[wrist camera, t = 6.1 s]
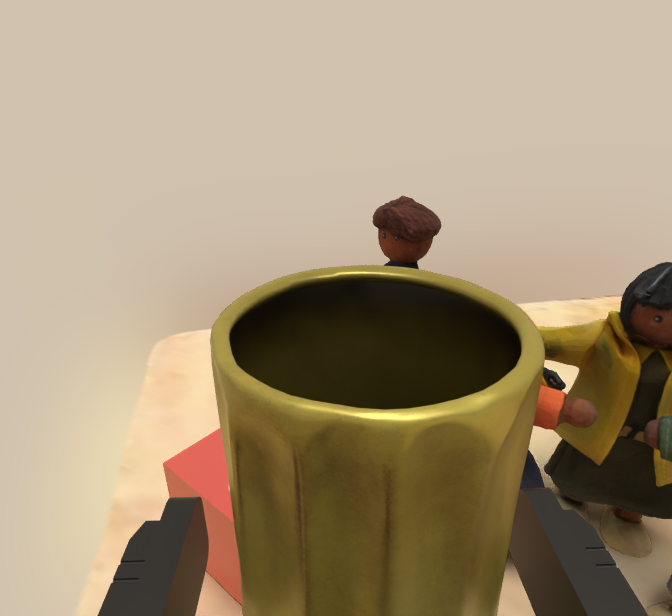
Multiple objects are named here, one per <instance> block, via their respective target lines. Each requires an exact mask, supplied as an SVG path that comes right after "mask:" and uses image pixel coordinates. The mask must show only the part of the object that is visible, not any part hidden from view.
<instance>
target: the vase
mask: <svg viewBox="0 0 672 616" xmlns="http://www.w3.org/2000/svg"><path fill="white" fill-rule="evenodd" d="M210 344H211V358H212V369H213V376H214V384H215V392H216V399H217V406H218V413H219V420H220V427H221V434H222V440H223V446H224V453H225V459H226V466H227V472H228V480H229V488H230V496H231V505H232V512H233V519H234V527H235V535H236V542H237V550H238V557H239V564H240V575H241V593H242V609H243V616H497V612H498V605H499V599H500V592H501V587H502V582H503V576H504V571H505V566H506V560H507V555H508V550H509V544H510V538H511V532H512V526H513V521H514V515H515V509H516V504H517V499H518V494H519V489H520V484H521V479H522V475H523V470H524V466H525V461H526V457H527V452H528V448H529V443H530V438H531V433H532V428H533V423H534V418H535V413H536V408H537V402H538V397H539V392H540V387H541V381H542V375H543V368H544V360H545V349H544V344H543V340H542V337H541V335H540V333H539V330H538V328H537V327H536V325H535V324H534V322H533V321H532V320H531V319H530V317H529V316H528V315H527V314H526V313H525V312H524V311H523V310H522V309H521V308H520V307H518V306H517V305H515V304H514V303H512V302H511V301H509V300H507V299H505V298H503V297H501V296H500V295H498V294H495V293H493V292H491V291H489V290H487V289H484V288H482V287H480V286H478V285H476V284H473V283H471V282H468V281H465V280H462V279H459V278H454V277H450V276H446V275H441V274H437V273H433V272H428V271H424V270H419V269H414V268H406V267H395V266H379V265H358V266H342V267H330V268H321V269H313V270H309V271H303V272H299V273H295V274H291V275H287V276H284V277H281V278H278V279H275V280H273V281H270V282H268V283H266V284H264V285H262V286H259V287H257V288H255V289H253V290H251V291H249V292H247V293H246V294H244V295H243V296H241V297H239V298H238V299H237V300H235V301H234V302H233V303H232V304H230V305H229V306H228V307H227V308H226V309H225V310H224V311H223V312H222V313H221V314H220V316H219V317H218V319H217V320H216V321H215V323H214V325H213V327H212V331H211V339H210Z"/></svg>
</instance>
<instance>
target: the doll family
mask: <svg viewBox="0 0 672 616" xmlns="http://www.w3.org/2000/svg"><path fill="white" fill-rule="evenodd" d="M373 224H374V225H375V226H376V227H377V228H378V229H379V232H378V233H379V234H378V237H379V238H378V239H379V244H380V247H381V249H382V251H383V253H384V255H385V256H387V257H388V258H389V259H390V261H389V262H388V263H386V264H385V265H384V266H395V267H406V268H414V269H419V268H418V264H417V261H418V260H419V259H421V258H422V257H423V256H425V255H426V253H427V252H428V250H429V248H430V247H431V244H432V240H433V237H434V236H435V235H437V234H438V232H439V230H440V228H441V222H440V219H439V218H438V216H437V215H435V213H434V212H432V211H431V210H429V209H428V208H426V207H425V206H423V205H422V204H419V203H417V202H415V201H414V200H413V199H412V198H408V197H405V196H401V197H400V198H399V199H396V200H393V201H390V202H389V203H386V204H385V205H383V206H380V207H379V208H378V209H377V210H376V212H375V213H374V215H373ZM537 328H538V330H539V333H540V335H541V337H542V340H543V344H544V349H545V360H552V361H556V362H560V363H563V364H567V365H573V366H576V367H578V368H579V373H578V376H577V378H576V380H575V382H574V384H573V386H572V388H571V389H570V391H569V392H568V394H566V393H564V392H562V389H565V387H566V385H565V383H564V382H563V381H562V380H561V378H560V377H559V376H558V374H557V372H554V371H552V370H549V369H547V368H545V367H544V368H543V375H542V381H541V387H540V392H539V397H538V402H537V408H536V413H535V418H534V423H533V425H534V426H539V427H542V428H544V429H552V430H554V431H555V432H556V433H557V434H558V435H559V436H560V437H561V438H563V439H562V440H561V441H560V443H559V444H558V446H557V448H556V450H555V452H554V454H553V455H552V456H551V458H550V460H549V462H548V463H547V464H546V465H545V466H544V471H545V472H546V473H547V474H548V475H550V477H551V478H552V480H553V482H554V484H555V485H556V486H555V487H554V488H553V489H552V492H553V493H554V495H555V496H556V498H557V500H558V501H559V503H560V505H561V507H562V508H563V510H575V511H576V512H577V513H578V514H579V515H580V516H581V517H583V518H584V519H585V520H586V521H587V522H588V523H589V524H590V518H589V513H588V508H587V503H586V502H591V503H597V504H606V505H607V506H606V507H604V509H603V512H602V517H601V525H600V533H601V535H602V537H603V539H604V540H605V542H606V543H607V544H609V545H610V546H611V547H612V548H614V549H615V550H617V551H619V552H621V553H623V554H627V555H630V556H634V557H644V556H647V555H648V554H650V553H651V550H652V546H651V541H650V537H649V535H648V533H647V531H646V528H645V526H644V524H643V522H642V520H641V518H642V515H644V516H648V517H656V518H661V519H672V263H671V262H665V263H661V264H658V265H656V266H655V267H652V268H650V269H648V270H646V271H644V272H642V273H641V274H640V275H639V276H638V277H637V278H636V279H635V280H634V281H633V282H631V283H630V284H629V286H628V287H627V288H626V290H625V292H624V294H623V297H622V301H621V309H620V312H617V311H611V312H609V315H608V317H607V319H600V320H595V321H592V322H589V323H586V324H583V325H574V326H565V327H537ZM524 488H545V487H544V483H543V480H542V477H541V473H540V470H539V468H538V466H537V464H536V462H535V459H534V457H533V455H532V454H531V453H530V451H529V450H528V452H527V457H526V461H525V466H524V470H523V475H522V479H521V484H520V489H524ZM667 588H668V590H669V591H670V593H671V594H672V575H671V577H670V579H669V581H668V582H667ZM645 611H646V613H647V614H648V616H672V601H668V602H664V603H660V604H655V605H652V606H649V607H647V608H646V609H645Z"/></svg>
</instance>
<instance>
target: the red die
mask: <svg viewBox="0 0 672 616" xmlns="http://www.w3.org/2000/svg"><path fill="white" fill-rule="evenodd" d="M163 467H164V471H165V476H166V481H167V486H168V491H169V496H170V498H171V497H201V499H202V502H203V508H204V514H205V520H206V526H207V532H208V538H209V553H208V561H207V567H206V571H207V572H208V573H209V574H210V575H211V576H212V577H213V578H214V579H215V580H216V581H217V582H218V583H219V584H220V585H221V586H222V587H223V588H224V589H225V590H226V591H227V592H228V593H229V594H230V595H231V596H233V597H234V598H235V599H236V600H237V601H238V602H239V603H240V604H241V605H242V593H241V575H240V564H239V557H238V550H237V542H236V535H235V527H234V519H233V512H232V505H231V496H230V488H229V480H228V472H227V466H226V459H225V453H224V446H223V440H222V434H221V428H219V429H218V430H216V431H215V432H213V433H211V434H210V435H208V436H206V437H205V438H203V439H202V440H200V441H198V442H197V443H195V444H193V445H192V446H190V447H189V448H187V449H185V450H184V451H182V452H180V453H179V454H177V455H175V456H174V457H172V458H171V459H169V460H167V461H166V462H164V463H163Z"/></svg>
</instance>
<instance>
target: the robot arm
mask: <svg viewBox="0 0 672 616" xmlns="http://www.w3.org/2000/svg"><path fill="white" fill-rule="evenodd" d="M509 550H510V553H511V556H512V559H513V561H514V564H515V566H516V569H517V571H518V574H519V576H520V578H521V581H522V583H523V586H524V588H525V591H526V593H527V595H528V598H529V600H530V603H531V605H532V608H533V610H534V612H535V615H536V616H648V614H647V613H646V611H645V610H644V608H643V606H642V605H641V603H640V602H639V600H638V598H637V597H636V595H635V594H634V592H633V590H632V589H631V587H630V585H629V584H628V582H627V581H626V579H625V577H624V576H623V574H622V573H621V571H620V569H619V568H617V567H616V563H615V561H614V560H613V558H612V557H611V555H610V553H609V552H608V551H606V549H605V545H604V544H603V542H602V541H601V539H600V537H599V536H598V534H597V533H596V531H595V529H594V528H593V526H591V525H590V524H589V523H588V522H587V521H586V520H585V519H584V518H583V517H581V516H580V515H579V514H578V513H577V512H576V511H575V510H563V508H562V507H561V505H560V503H559V501H558V500H557V498H556V496H555V495H554V493H553V492H552V490H550V489H549V488H524V489H519V494H518V499H517V504H516V509H515V515H514V521H513V526H512V532H511V538H510V544H509ZM208 553H209V538H208V532H207V526H206V520H205V514H204V508H203V502H202V499H201V497H171V498H169V499H168V501H167V503H166V506H165V508H164V511H163V514H162V517H161V519H160V521H145V523H144V524H143V525H142V526H141V527H140V528H139V529H138V531H137V532H136V533H135V534H134V535H133V536H132V537H131V539H130V540H129V542H128V545H127V547H126V549H125V552H124V554H123V557H122V559H121V564H120V565H119V566H118V568H117V571H116V573H115V576H114V578H113V583H111V585H110V588H109V590H108V592H107V595H106V597H105V599H104V602H103V604H102V607H101V609H100V611H99V614H98V616H195V613H196V609H197V605H198V601H199V596H200V592H201V588H202V584H203V579H204V575H205V571H206V567H207V561H208Z"/></svg>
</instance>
